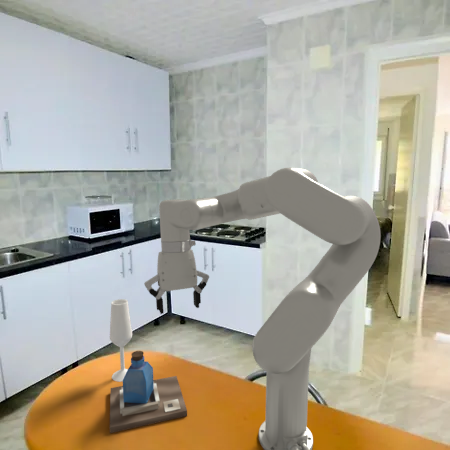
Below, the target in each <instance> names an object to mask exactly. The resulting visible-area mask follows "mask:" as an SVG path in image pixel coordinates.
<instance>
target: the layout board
mask: <svg viewBox="0 0 450 450" xmlns="http://www.w3.org/2000/svg"><path fill="white" fill-rule="evenodd" d="M179 383H180V382H179V380H178V377H177V375H175V376H170V377H169V376H168V377H163V378H158V379H153V386H154V389H153V391H152V393H151V395H150V398H149V400H148V402H147V403H128V402H124V398H123V385H120V386H115V387H110V396H109V397H110V399H109V401H110V402H109V403H110V404H109V407H110V408H109V434H112V433H116V432H121V431H126V430H130V429H133V428H134V429H135V428H139V427H143V426H144V427H145V426H148V425H152V424H156V423H161V422H166V421H170V420H174V419H179V418H184V417H188V409H187V406H186V403H185V399H184V396H183V393H182V390H181V387H180V384H179Z"/></svg>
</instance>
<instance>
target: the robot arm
mask: <svg viewBox="0 0 450 450" xmlns="http://www.w3.org/2000/svg"><path fill="white" fill-rule="evenodd" d="M158 205H159V206H158V210H159V225H160V227H159V228H160V244H161V251H159V252H158V255H157V264H156V265H157V266H156V267H157V270H156V271H157V272H156V273H157V274H156V275H154V276H152V277H151V278H149V279H148V280H146V281H144V286H145V288H146V290H147V291H148V292H149V294H150V295H151V296H153V297H154V298H155V302H156V303H155V304H156V310H157V311H159V313H160V315H162V314H164V300H163V297H162V296H163V295H164V294H165V292H171V291H179V290H186V289H192V288H193V292H192V296H193V305H194V307H195V308H196V309H199V308H200V304H201V303H202V302H201V298H202V297H201V294H202V292H203V290H204V289H205V287H206V286H207V284H208V281H209V279H210V275H209V274H207V273H205V272H202V271H200V270H198V269H197V265H196V258H195V253H194V251H193V249H192V247H193V246H196V240H192V239H191V237H190V233H191V232H190V231H197V230H198V231H199V230H201V229H205V228H208V227H209V228H210V227H213V226H218V225H221V224H227V223H231V222H236V221H239V220H245V219H246V220H249V221H251V220H257V219H260V218H265V217H270V216H275V215H282V216H284V217H285V218H287V219H289V220H290V221H292V222H294V223H295V224H297V225H298V226H299V227H300V228H303V229H304V230H306V231H307V232H309V233H311V234H312V235H314V236H316V237H317V238H319V239H321V240H323V241H324V242H327V243H329V244H332V245H331V246H330V248H329V249H328V250H327V251H326V252H325V254H324V255H323V256H322V257H321V259H320V260H319V261H318V263H317V264H316V266H315V267H314V268H313V269H312V270H311V271H310V273H309V274H308V275H306V277H305V278H304V279H303V280H302V281H300V282H299V283H298V284H296V286H294V287H293V288H292V289H291V290H290V292H288V294H286V296H285V297H284V298H283V299H282V300H281V302H280V303H279V304H278V306H276V308H275V310H273V312H272V313H271V314H270V315H269V317H268V318H267V319H266V321H265V322H264V323H263V324H262V326H261V327H260V328H259V330H258V331H256V334H255V336H254V337H253V340H252V346H251V347H252V349H251V350H252V355H253V359H254V360H255V363H256V364H257V365H258V367H259V368H260V369H261V370H263V371H264V372H266V377H265V378H266V380H265V381H266V382H265V383H266V385H265V387H266V388H265V420H264V421H263V422H262V423H261V425H260V427H259V429H258V441H259V443H260V445H261V448H262V449H263V450H313V446H314V436H313V433H312V432H311V430H310V429H309V428H308V427H307V425H308V406H309V405H308V402H309V401H308V400H309V379H310V362H311V353H312V348H313V347H314V346H315V345H316V343H318V342H319V340H320V339H321V338H322V337H323V336H324V334H325V333H326V331H327V330H328V329H329V327H330V326H331V324H332V322H333V321H334V319H335V316H336V315H337V313H338V311H339V309H340V306H342V304H343V303H344V302H345V300H346V298H348V296H349V295H350V294H351V293H352V292H353V291H354V290H355V288H356V287H357V286H358V285H359V283H360V282H361V281H362V279H363V278H364V277H365V276H366V274H367V273H368V271H369V270H370V269H371V267H372V265H373V264H374V262H375V260H376V258H377V256H378V254H379V249H380V246H381V237H382V235H381V227H380V223H379V220H378V217H377V214H376V213H375V211H374V209H373V208H372V206H371V205H370V204H369V203H368V202H367V201H366V199H363V198H362V197H359V196H357V195H356V196H355V195H345V196H343V195H341V194H340V193H337V192H336V191H333V190H331V189H330V188H328V187H326V186H324V185H323V184H320V183H319V182H318V179H317V177H316V176H315V175H314V173H313V172H311V171H310V170H308V169H305V168H301V167H283V168H280V169H278V170H276V171H275V172H273V173H272V174H271V175H269V176H266V177H263V178H259V179H254V180H251V181H247V182H244V183H242V184H241V185H240V186H239V188H238V189H236V190H233V191H231V192H227V193H223V194H219V195H216V196H210V197H200V198H199V197H198V198H191V199H176V198H175V199H166V200H165V199H164V200H162V201H160V202H159V204H158ZM198 277H200V278H201V281H200V282H199V284H198ZM155 283H157V286H158V288H157V289H154V288H153V287H152V285H154V284H155Z"/></svg>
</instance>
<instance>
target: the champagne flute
mask: <svg viewBox="0 0 450 450" xmlns="http://www.w3.org/2000/svg"><path fill="white" fill-rule="evenodd" d="M128 301H129V300H128V299H126V298H125V299H124V298H121V299H120V298H119V299H114V300H112V301H111V303H110V304H111V306H110V321H109V322H110V325H109V340H110V341H111V343H112V344H113V345H115V346H117V347H119V359H120V360H119V361H120V369H119V370H118V369H117V370H116V371H115V372H113V374H112V376H111V379H112V380H113V381H115V382H120V383H121V382H123V379H124V377H125V375H126V372H127V370H128V369H129V368H126V367H125V348H124V347H125V346H126V345H127V344H129V342H130V341H131V339H132V337H133V329H132V328H133V327H132V322H131V315H130V309H129V302H128Z"/></svg>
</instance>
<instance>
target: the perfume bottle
mask: <svg viewBox="0 0 450 450" xmlns="http://www.w3.org/2000/svg"><path fill="white" fill-rule="evenodd" d="M127 369H128V370H127V372H126V375H125V377H124V379H123V381H122V386H123V398H124V402H128V403H147V402H148V400H149V398H150V395H151V393H152V391H153V389H154V386H153V380H154V368H153V366H152V365H151V364H150V363H149V361H145V355H144V351H143V350H135V351H133V352H131V357H130V366H129V367H128V368H127Z"/></svg>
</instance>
